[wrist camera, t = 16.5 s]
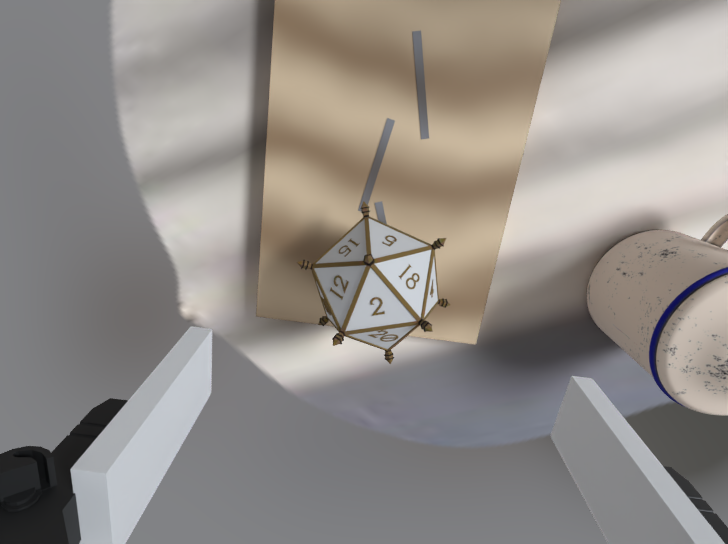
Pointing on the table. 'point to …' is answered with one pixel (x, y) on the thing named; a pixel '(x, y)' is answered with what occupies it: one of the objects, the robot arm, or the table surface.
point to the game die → (377, 284)
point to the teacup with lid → (669, 311)
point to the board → (397, 139)
